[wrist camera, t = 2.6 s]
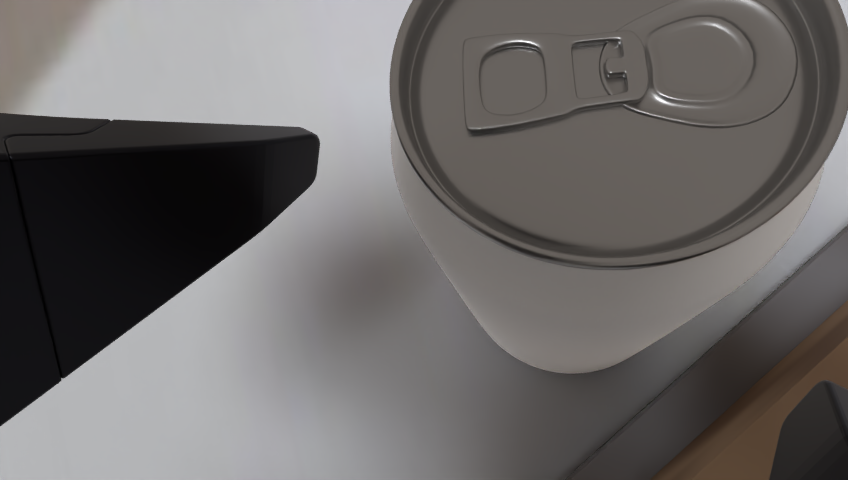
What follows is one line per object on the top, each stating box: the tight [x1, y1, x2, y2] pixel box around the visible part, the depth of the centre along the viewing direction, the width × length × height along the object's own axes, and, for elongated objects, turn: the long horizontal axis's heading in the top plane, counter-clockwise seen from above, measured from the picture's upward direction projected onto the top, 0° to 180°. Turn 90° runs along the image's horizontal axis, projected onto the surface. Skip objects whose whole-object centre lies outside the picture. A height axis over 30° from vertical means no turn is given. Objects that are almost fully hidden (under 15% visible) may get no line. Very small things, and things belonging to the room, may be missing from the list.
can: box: [390, 0, 848, 374], centre depth 13 cm, size 6×6×12 cm
